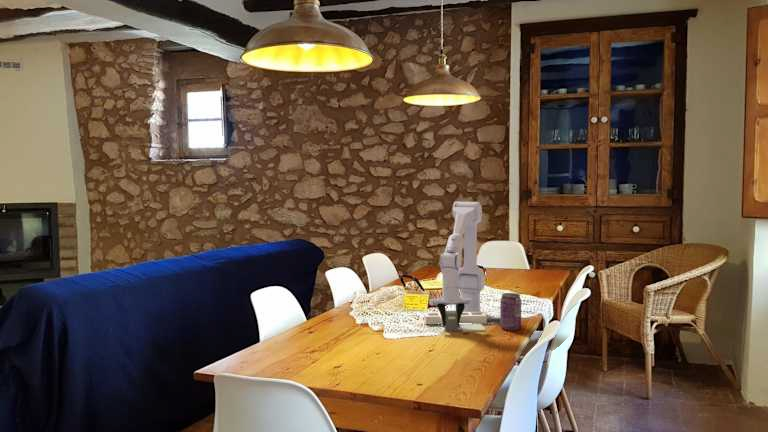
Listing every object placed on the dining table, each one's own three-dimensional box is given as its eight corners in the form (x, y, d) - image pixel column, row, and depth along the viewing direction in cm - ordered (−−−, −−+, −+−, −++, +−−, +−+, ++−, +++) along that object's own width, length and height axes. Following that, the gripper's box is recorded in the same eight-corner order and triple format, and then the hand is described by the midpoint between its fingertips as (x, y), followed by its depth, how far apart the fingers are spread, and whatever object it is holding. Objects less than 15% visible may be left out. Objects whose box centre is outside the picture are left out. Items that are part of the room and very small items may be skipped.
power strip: (424, 320, 224) (424, 311, 224) (499, 319, 225) (499, 309, 225) (426, 326, 215) (426, 316, 215) (504, 325, 217) (504, 315, 216)
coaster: (458, 325, 216) (458, 324, 216) (480, 325, 217) (480, 323, 217) (462, 331, 208) (462, 330, 208) (485, 331, 209) (485, 329, 209)
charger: (442, 325, 217) (442, 308, 217) (453, 324, 217) (453, 308, 217) (445, 330, 210) (445, 313, 209) (457, 330, 210) (457, 313, 209)
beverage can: (519, 326, 215) (519, 292, 214) (522, 331, 208) (522, 297, 207) (499, 325, 216) (499, 292, 215) (501, 331, 209) (501, 296, 208)
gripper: (431, 289, 207) (431, 328, 208) (473, 288, 207) (473, 327, 208) (428, 285, 214) (428, 323, 215) (469, 284, 214) (469, 322, 215)
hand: (450, 324), depth 212 cm, fingers closed on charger, 4 cm apart
